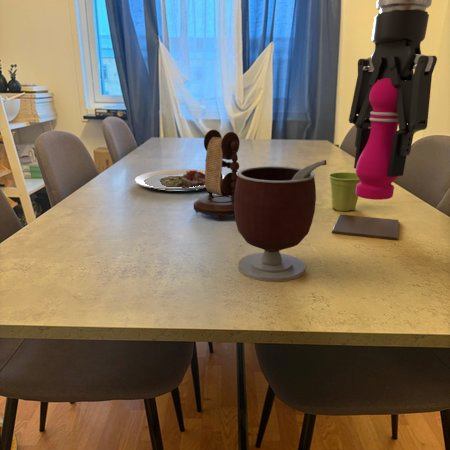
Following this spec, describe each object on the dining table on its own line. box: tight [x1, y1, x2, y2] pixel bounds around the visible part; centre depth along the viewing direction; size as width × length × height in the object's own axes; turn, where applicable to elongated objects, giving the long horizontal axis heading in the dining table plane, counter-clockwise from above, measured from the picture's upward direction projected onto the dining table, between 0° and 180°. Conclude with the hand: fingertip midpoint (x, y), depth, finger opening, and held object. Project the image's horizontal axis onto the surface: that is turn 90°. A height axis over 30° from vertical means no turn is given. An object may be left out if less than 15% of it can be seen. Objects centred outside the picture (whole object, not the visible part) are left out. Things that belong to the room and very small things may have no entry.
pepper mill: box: [355, 78, 399, 201], centre depth 71 cm, size 7×7×20 cm
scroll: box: [193, 129, 241, 221], centre depth 107 cm, size 15×15×20 cm
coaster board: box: [331, 213, 399, 241], centre depth 101 cm, size 14×14×1 cm
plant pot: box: [328, 171, 360, 212], centre depth 114 cm, size 9×9×9 cm
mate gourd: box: [234, 159, 327, 283], centre depth 75 cm, size 16×14×20 cm
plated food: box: [134, 168, 226, 191], centre depth 142 cm, size 30×30×3 cm
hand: (377, 171), depth 74 cm, fingers closed on pepper mill, 7 cm apart
